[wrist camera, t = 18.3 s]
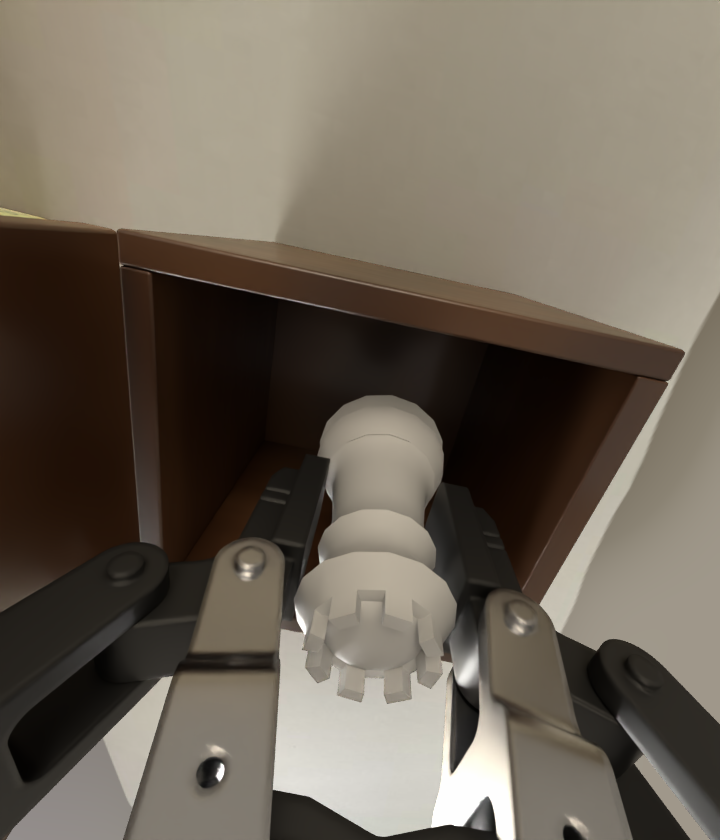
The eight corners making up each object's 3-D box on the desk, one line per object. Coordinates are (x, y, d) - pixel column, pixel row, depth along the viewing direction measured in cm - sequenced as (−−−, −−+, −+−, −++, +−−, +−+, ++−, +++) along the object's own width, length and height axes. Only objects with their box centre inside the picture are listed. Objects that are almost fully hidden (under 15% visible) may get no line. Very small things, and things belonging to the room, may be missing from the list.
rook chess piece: (397, 512, 15) (405, 757, 8) (301, 459, 14) (211, 675, 7) (466, 430, 13) (560, 645, 6) (360, 365, 13) (323, 521, 5)
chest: (516, 294, 20) (688, 351, 9) (448, 481, 26) (499, 673, 14) (273, 241, 20) (114, 227, 8) (256, 441, 25) (143, 603, 14)
